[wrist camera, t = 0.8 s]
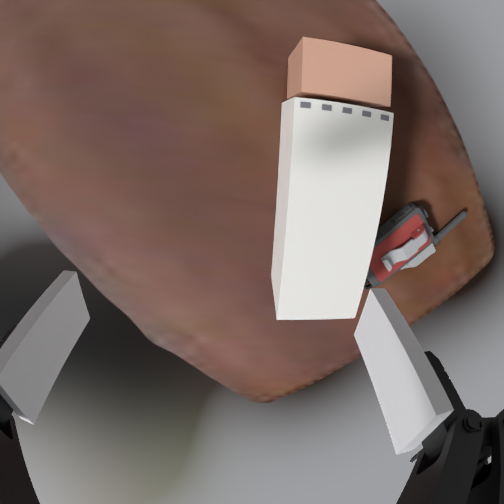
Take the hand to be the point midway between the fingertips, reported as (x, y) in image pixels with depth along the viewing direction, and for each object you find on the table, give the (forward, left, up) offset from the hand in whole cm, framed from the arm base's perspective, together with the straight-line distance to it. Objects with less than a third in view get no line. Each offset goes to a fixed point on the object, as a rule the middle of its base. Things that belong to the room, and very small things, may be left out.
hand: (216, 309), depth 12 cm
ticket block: (+1, +9, -23) cm, 25 cm away
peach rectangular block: (-13, +9, -23) cm, 28 cm away
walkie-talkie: (+5, +24, -24) cm, 34 cm away
